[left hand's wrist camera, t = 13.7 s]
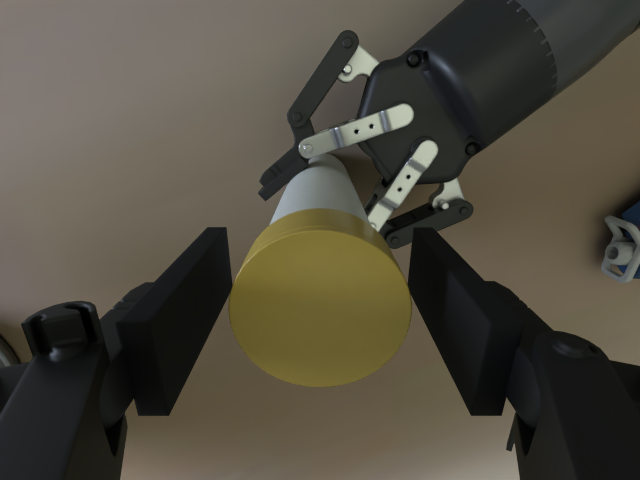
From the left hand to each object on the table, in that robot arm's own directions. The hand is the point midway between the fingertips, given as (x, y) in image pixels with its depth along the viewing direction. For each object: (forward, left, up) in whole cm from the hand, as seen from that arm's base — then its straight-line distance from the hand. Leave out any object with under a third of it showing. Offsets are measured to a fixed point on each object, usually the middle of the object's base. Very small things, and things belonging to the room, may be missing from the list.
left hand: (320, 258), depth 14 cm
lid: (0, 0, +4) cm, 4 cm away
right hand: (0, -3, -10) cm, 10 cm away
